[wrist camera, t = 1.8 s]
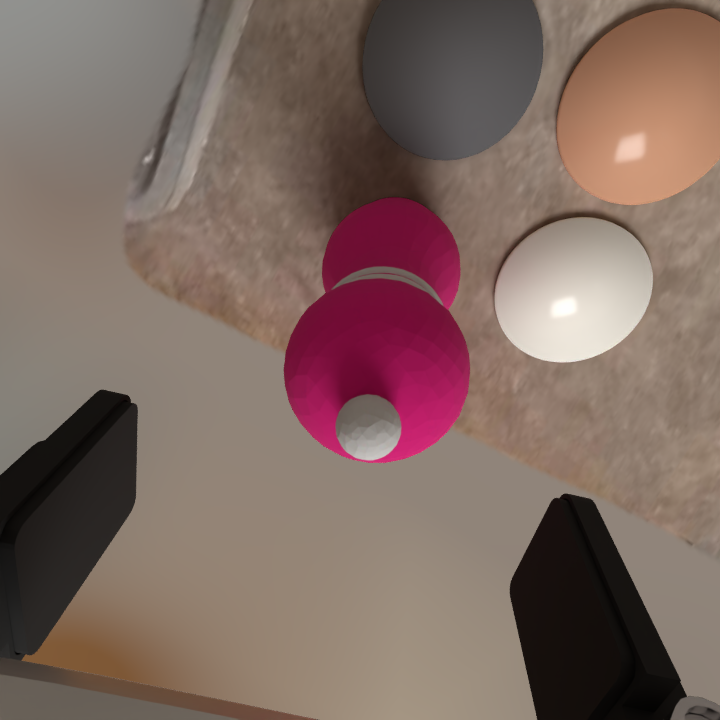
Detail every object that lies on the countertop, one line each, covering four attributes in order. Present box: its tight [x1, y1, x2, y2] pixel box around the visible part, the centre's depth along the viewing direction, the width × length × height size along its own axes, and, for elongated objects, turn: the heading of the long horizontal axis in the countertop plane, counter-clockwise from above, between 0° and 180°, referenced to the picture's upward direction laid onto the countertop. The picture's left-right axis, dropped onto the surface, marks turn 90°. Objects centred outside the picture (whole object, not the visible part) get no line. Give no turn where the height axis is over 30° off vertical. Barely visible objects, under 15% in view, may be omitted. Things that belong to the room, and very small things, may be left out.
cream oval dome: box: [494, 217, 653, 362], centre depth 31 cm, size 9×9×1 cm
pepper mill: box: [284, 197, 470, 463], centre depth 22 cm, size 7×7×20 cm
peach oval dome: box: [556, 8, 720, 205], centre depth 26 cm, size 9×9×1 cm
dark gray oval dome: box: [363, 0, 543, 160], centre depth 26 cm, size 9×9×1 cm
